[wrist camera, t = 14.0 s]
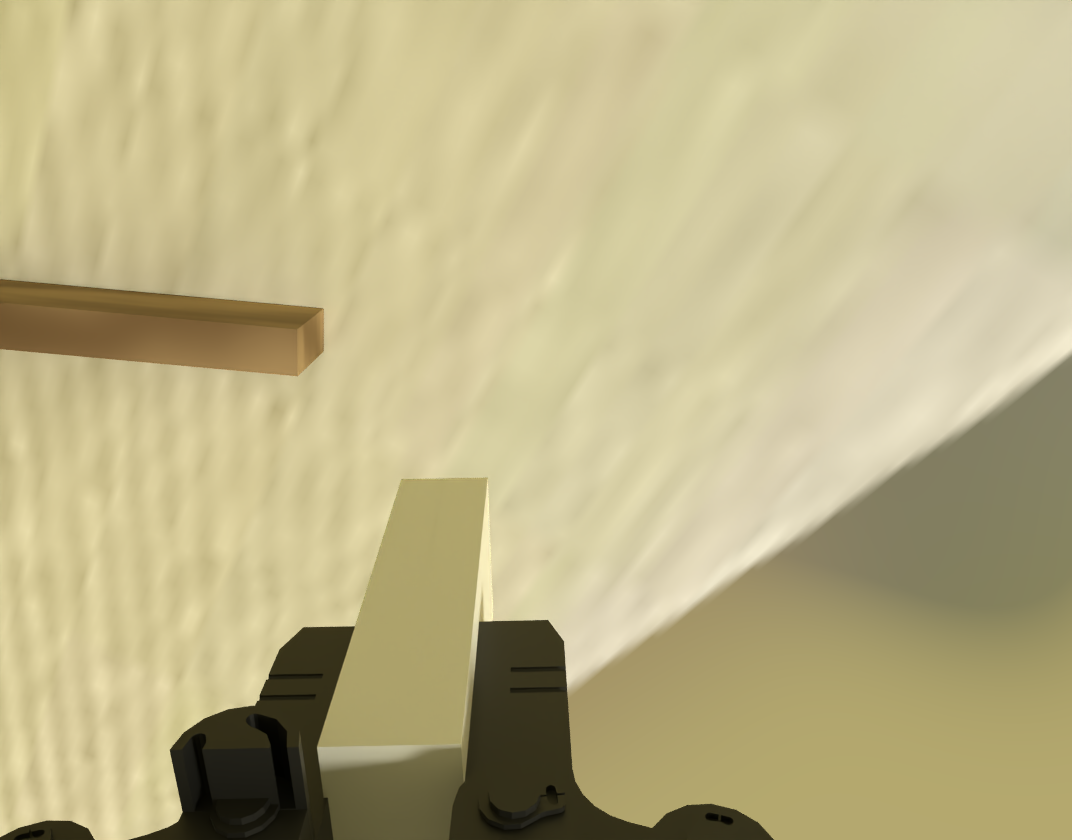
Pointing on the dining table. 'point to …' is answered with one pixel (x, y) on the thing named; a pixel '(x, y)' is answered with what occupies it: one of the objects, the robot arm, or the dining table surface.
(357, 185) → the dining table surface
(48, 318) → the brown wooden bar frame
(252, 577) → the dining table surface
